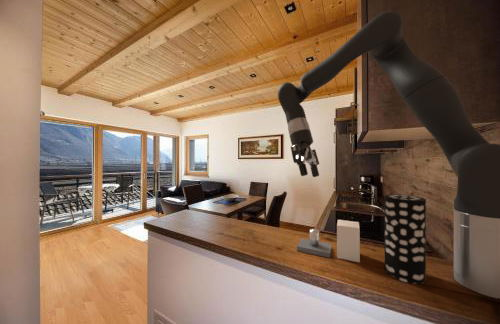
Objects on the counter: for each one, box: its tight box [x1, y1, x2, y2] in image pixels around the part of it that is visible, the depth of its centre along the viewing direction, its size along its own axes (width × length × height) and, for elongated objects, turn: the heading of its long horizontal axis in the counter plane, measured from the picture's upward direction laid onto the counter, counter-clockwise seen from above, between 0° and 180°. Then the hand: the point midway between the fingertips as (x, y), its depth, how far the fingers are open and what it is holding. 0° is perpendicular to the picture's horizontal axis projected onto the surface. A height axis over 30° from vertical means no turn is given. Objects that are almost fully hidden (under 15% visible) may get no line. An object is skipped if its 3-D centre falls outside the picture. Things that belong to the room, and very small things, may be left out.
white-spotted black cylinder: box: [384, 194, 427, 285], centre depth 50 cm, size 8×8×20 cm
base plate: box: [296, 228, 332, 259], centre depth 63 cm, size 10×7×6 cm
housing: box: [336, 219, 361, 263], centre depth 59 cm, size 6×6×10 cm
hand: (310, 176), depth 65 cm, fingers open, 8 cm apart
